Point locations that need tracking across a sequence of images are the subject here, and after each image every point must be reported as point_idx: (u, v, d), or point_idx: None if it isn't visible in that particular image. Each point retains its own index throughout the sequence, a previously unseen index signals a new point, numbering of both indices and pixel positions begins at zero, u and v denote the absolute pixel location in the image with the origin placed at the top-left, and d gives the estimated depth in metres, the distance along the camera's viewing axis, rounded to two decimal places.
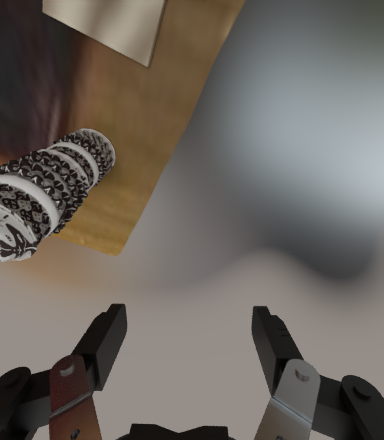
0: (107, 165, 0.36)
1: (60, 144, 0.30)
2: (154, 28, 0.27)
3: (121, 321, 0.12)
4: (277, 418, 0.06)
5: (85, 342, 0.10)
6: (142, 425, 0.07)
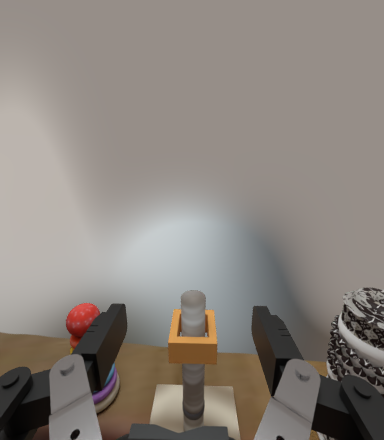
0: None
1: None
2: (209, 387, 0.38)
3: (120, 321, 0.12)
4: (277, 418, 0.06)
5: (85, 342, 0.10)
6: (142, 425, 0.07)
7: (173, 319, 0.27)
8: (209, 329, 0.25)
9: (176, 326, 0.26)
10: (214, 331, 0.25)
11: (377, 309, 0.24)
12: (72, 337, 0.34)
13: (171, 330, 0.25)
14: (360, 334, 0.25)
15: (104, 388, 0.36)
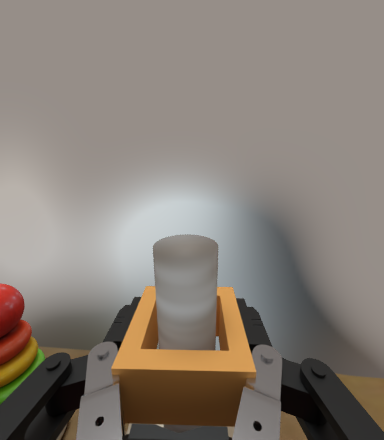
0: None
1: None
2: None
3: None
4: (251, 405, 0.07)
5: (114, 332, 0.11)
6: (142, 425, 0.07)
7: (140, 306, 0.12)
8: (227, 329, 0.10)
9: (144, 322, 0.10)
10: (242, 335, 0.10)
11: None
12: None
13: (129, 332, 0.10)
14: None
15: None
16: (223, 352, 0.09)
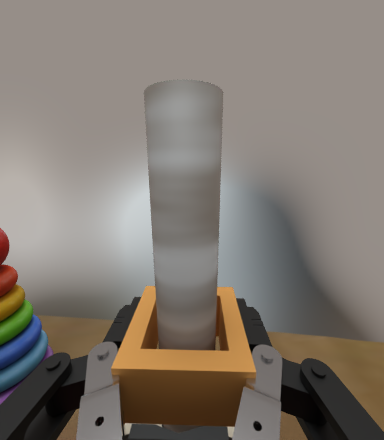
0: None
1: None
2: None
3: None
4: (251, 405, 0.07)
5: (114, 332, 0.11)
6: (142, 425, 0.07)
7: (140, 306, 0.12)
8: (228, 329, 0.10)
9: (144, 322, 0.10)
10: (242, 335, 0.10)
11: None
12: None
13: (129, 332, 0.10)
14: None
15: (16, 387, 0.18)
16: (223, 352, 0.09)
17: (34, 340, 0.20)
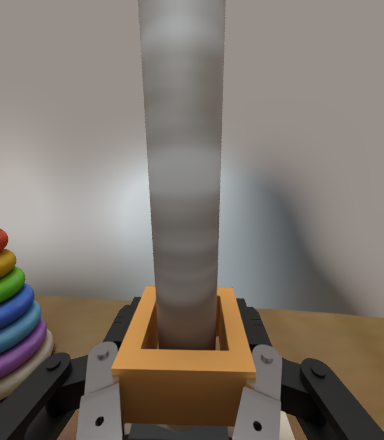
0: None
1: None
2: None
3: None
4: (251, 405, 0.07)
5: (114, 332, 0.11)
6: (142, 425, 0.07)
7: (140, 306, 0.12)
8: (228, 329, 0.10)
9: (144, 322, 0.10)
10: (242, 335, 0.10)
11: None
12: None
13: (129, 332, 0.10)
14: None
15: (6, 354, 0.17)
16: (223, 352, 0.09)
17: (25, 307, 0.19)
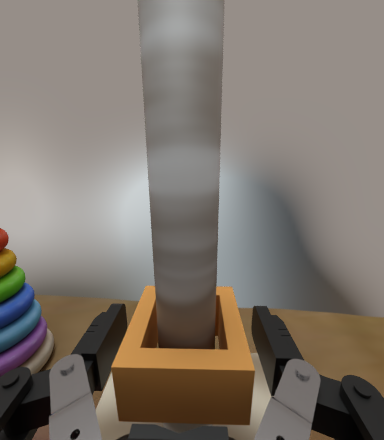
0: None
1: None
2: None
3: (121, 321, 0.12)
4: (277, 418, 0.06)
5: (85, 342, 0.10)
6: (142, 425, 0.07)
7: (140, 305, 0.12)
8: (227, 328, 0.10)
9: (144, 321, 0.10)
10: (241, 334, 0.10)
11: None
12: None
13: (129, 331, 0.10)
14: None
15: (6, 353, 0.17)
16: (222, 351, 0.09)
17: (26, 306, 0.19)
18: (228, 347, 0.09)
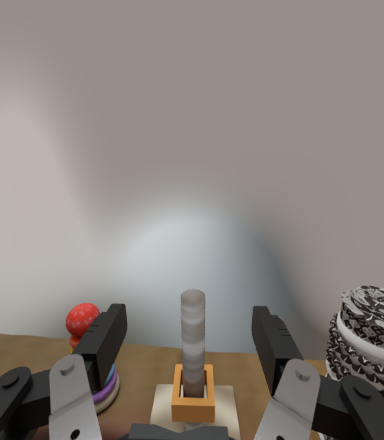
0: None
1: None
2: None
3: (121, 321, 0.12)
4: (277, 418, 0.06)
5: (85, 342, 0.10)
6: (142, 425, 0.07)
7: (175, 376, 0.30)
8: (208, 388, 0.28)
9: (178, 385, 0.29)
10: (212, 391, 0.28)
11: (375, 307, 0.24)
12: (72, 337, 0.34)
13: (173, 390, 0.28)
14: (359, 332, 0.25)
15: (104, 388, 0.36)
16: (205, 398, 0.27)
17: None
18: (207, 397, 0.27)
